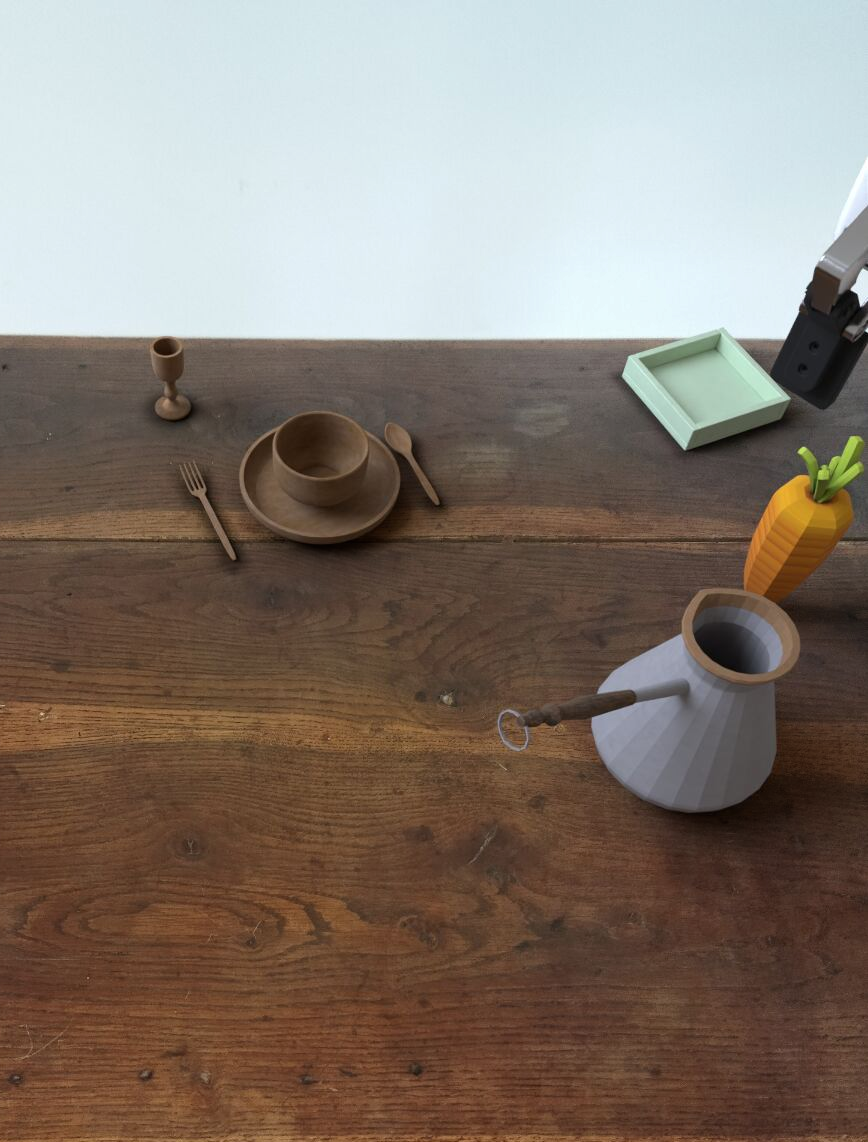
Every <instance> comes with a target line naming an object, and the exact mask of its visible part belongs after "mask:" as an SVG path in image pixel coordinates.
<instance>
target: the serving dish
mask: <svg viewBox="0 0 868 1142" xmlns="http://www.w3.org/2000/svg"><path fill="white" fill-rule="evenodd" d="M621 378H622V379H623V380H624V381H625V382H626V383H627V385H628V386H629V388H631V390H632V391H634V393H635V394H636V395H637V396H638V398H639V399H640V400H641V401H642V403H644V404H645V405H646V407H647V408H648V410H650V412H651V413H652V414H653V415H654V417H656V419H657V420H658V421H659V423H660V424H661V425H662V426H663V427H664V428H665V429H666V430H667V432H668V433H669V434H670V435H671V437H672V438H673V439H674V440H675V442H677V443H678V445H679V446H680V447H681V448H682V449H683V450H684V451H685V452H686V451H689V450H692V449H695V448H698V447H701V446H704V445H707V444H710V443H713V442H716V441H719V440H722V439H725V438H728V437H731V436H734V435H737V434H741V433H743V432H746V431H748V430H749V431H750V430H752V429H755V428H759V427H761V426H764V425H767V424H770V423H774V422H776V421H779V420H781V419H782V417H783V416H784V413H785V412H786V410H787V408H788V406H789V404H790V402H791V400H792V398H791V397H790V396H789V394H787V392H786V391H784V389H782V387H781V386H780V385H779V384H778V383H777V382H775V381H774V380H773V379H772V378H771V375H769V374H768V373H767V371H765V369H764V368H762V366H761V365H760V363H758V362H757V361H756V360H755V359H754V358H753V357H752V356H751V355H750V354H749V352H747V351H746V350H745V348H744V347H742V345H741V344H740V343H739V342H738V341H737V340H736V339H735V338H734V336H732V335H731V333H730V332H728V330H727V329H725V327H720V328H716V329H712V330H710V331H707V332H704V333H703V332H702V333H700V334H696V335H693V336H690V337H687V338H683V339H680V340H675V341H673V342H670V343H667V344H664V345H660V346H656V347H653V348H651V349H647V350H644V351H640V352H638V353H635V354H631V355H629V356H628V357H627V360H626V364H625V366H624V369H623V372H622V375H621Z"/></svg>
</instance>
